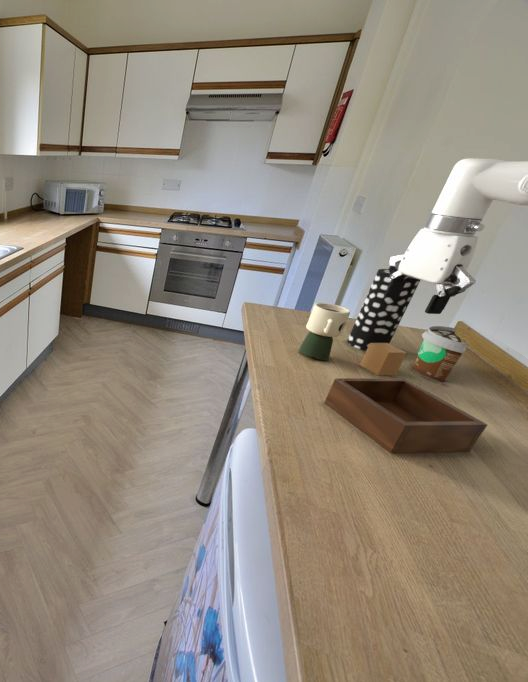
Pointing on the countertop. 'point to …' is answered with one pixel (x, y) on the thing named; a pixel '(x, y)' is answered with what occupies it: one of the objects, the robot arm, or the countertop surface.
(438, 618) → the countertop surface
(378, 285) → the white-spotted black cylinder
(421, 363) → the food container
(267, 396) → the countertop surface
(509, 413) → the countertop surface
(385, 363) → the box
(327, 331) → the character mug
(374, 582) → the countertop surface
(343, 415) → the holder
